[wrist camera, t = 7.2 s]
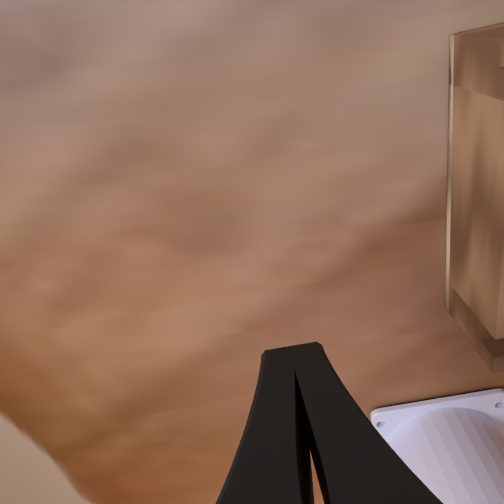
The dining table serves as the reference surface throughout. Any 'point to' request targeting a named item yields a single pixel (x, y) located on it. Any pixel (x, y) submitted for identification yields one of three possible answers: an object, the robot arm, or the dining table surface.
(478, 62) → the box
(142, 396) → the dining table surface
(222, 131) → the dining table surface
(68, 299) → the dining table surface
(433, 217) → the dining table surface
